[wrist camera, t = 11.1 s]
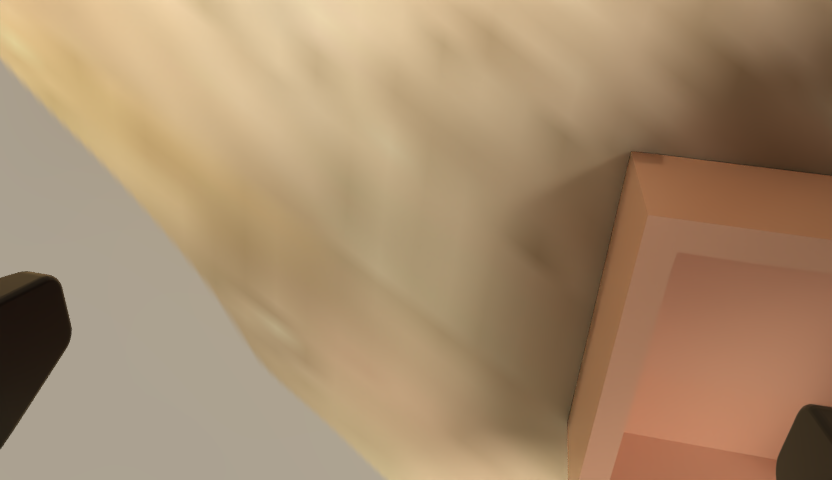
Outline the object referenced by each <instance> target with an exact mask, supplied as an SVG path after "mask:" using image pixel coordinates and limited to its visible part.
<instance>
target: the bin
mask: <svg viewBox="0 0 832 480" xmlns="http://www.w3.org/2000/svg"><path fill="white" fill-rule="evenodd" d="M808 404H817V405H822V406H828V407H832V176H829V175H821V174H812V173H804V172H796V171H788V170H780V169H772V168H764V167H756V166H748V165H740V164H731V163H723V162H715V161H707V160H699V159H691V158H683V157H675V156H667V155H659V154H651V153H642V152H634V151H631V154H630V158H629V162H628V166H627V171H626V175H625V179H624V183H623V188H622V192H621V196H620V201H619V205H618V209H617V213H616V218H615V222H614V226H613V230H612V235H611V239H610V243H609V247H608V252H607V256H606V260H605V265H604V269H603V273H602V277H601V282H600V286H599V290H598V294H597V299H596V303H595V307H594V311H593V316H592V320H591V324H590V329H589V333H588V337H587V341H586V346H585V350H584V354H583V358H582V363H581V367H580V371H579V375H578V380H577V384H576V388H575V393H574V397H573V401H572V405H571V410H570V414H569V418H568V422H567V443H568V480H776V462H777V458H778V455H779V452H780V450H781V448H782V446H783V444H784V441H785V439H786V437H787V435H788V433H789V431H790V428H791V426H792V424H793V422H794V420H795V417H796V415H797V413H798V412H799V410H800V409H801V408H802V407H803V406H805V405H808Z"/></svg>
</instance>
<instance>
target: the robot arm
mask: <svg viewBox="0 0 832 480" xmlns="http://www.w3.org/2000/svg"><path fill="white" fill-rule="evenodd" d="M71 331H72V328H71V323H70V319H69V314H68V310H67V306H66V302H65V298H64V294H63V289H62V286H61V283H60V282H59V281H58V279H57V278H55V277H53V276H51V275H47V274H41V273H35V272H28V271H25V272H18V273H15V274H11V275H8V276H5V277H2V278H0V449H1V448H2V446H3V445H4V443H5V442H6V440H7V439H8V438H9V436H10V434H11V433H12V432H13V430H14V429H15V427H16V425H17V424H18V423H19V421H20V419H21V418H22V416H23V415H24V413H25V412H26V410H27V409H28V407H29V406H30V404H31V402H32V401H33V399H34V398H35V396H36V395H37V393H38V392H39V390H40V389H41V387H42V385H43V384H44V382H45V381H46V379H47V378H48V376H49V375H50V373H51V371H52V370H53V368H54V367H55V365H56V364H57V362H58V361H59V359H60V357H61V356H62V354H63V353H64V351H65V350H66V348H67V346H68V344H69V342H70V338H71ZM776 480H832V407H828V406H822V405H817V404H808V405H805V406H803V407H802V408H801V409H800V410H799V412H798V413H797V415H796V417H795V420H794V422H793V424H792V426H791V428H790V431H789V433H788V435H787V437H786V439H785V441H784V444H783V446H782V448H781V450H780V452H779V455H778V458H777V462H776Z"/></svg>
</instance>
